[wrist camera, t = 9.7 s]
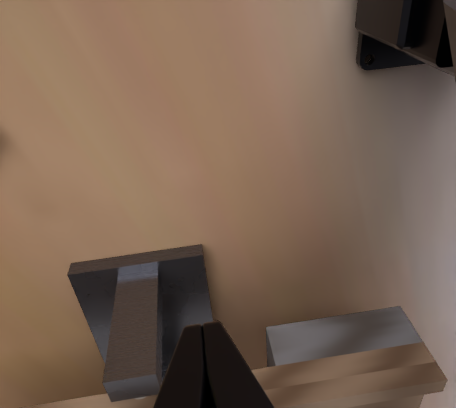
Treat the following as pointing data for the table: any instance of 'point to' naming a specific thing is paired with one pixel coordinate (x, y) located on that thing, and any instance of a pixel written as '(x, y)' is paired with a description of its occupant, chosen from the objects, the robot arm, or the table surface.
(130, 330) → the beam stand
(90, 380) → the table surface
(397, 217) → the table surface
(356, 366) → the beam
